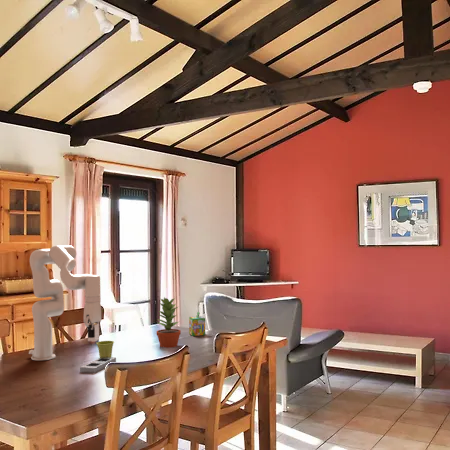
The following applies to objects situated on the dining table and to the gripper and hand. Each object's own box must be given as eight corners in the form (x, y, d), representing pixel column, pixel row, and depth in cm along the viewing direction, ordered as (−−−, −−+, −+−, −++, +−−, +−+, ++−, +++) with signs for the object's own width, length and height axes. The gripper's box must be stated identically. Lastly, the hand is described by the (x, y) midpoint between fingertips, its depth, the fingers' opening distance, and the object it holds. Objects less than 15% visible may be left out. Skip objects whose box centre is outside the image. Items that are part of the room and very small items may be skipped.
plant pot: (96, 361, 277) (96, 344, 277) (96, 357, 286) (96, 341, 286) (114, 359, 280) (114, 343, 280) (113, 355, 289) (113, 340, 289)
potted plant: (183, 343, 320) (182, 294, 320) (178, 348, 304) (177, 297, 305) (159, 343, 321) (158, 294, 322) (153, 348, 306) (152, 297, 306)
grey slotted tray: (80, 372, 255) (79, 367, 255) (102, 361, 276) (102, 356, 276) (94, 373, 252) (94, 368, 252) (116, 362, 274) (115, 357, 274)
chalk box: (188, 334, 349) (188, 311, 349) (202, 333, 352) (201, 311, 352) (192, 336, 340) (191, 313, 340) (205, 335, 343) (205, 313, 343)
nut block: (87, 341, 258) (87, 323, 258) (92, 339, 262) (91, 322, 262) (95, 341, 257) (94, 324, 257) (99, 339, 261) (98, 322, 261)
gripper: (94, 297, 269) (95, 333, 269) (77, 301, 253) (77, 339, 252) (107, 297, 267) (108, 333, 267) (90, 302, 251) (91, 340, 250)
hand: (93, 336), depth 259 cm, fingers closed on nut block, 4 cm apart
